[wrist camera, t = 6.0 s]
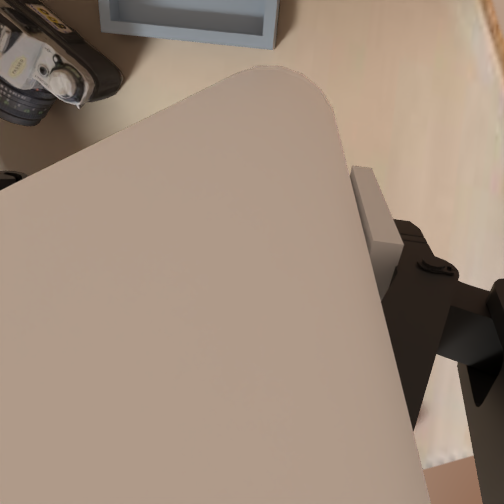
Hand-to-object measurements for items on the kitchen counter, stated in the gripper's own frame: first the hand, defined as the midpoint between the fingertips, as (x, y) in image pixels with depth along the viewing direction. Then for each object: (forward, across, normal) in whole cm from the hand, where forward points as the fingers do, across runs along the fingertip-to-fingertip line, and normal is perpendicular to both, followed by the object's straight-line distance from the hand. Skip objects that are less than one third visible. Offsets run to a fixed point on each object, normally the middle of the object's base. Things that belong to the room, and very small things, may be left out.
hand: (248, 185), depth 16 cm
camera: (+27, -25, +1) cm, 37 cm away
